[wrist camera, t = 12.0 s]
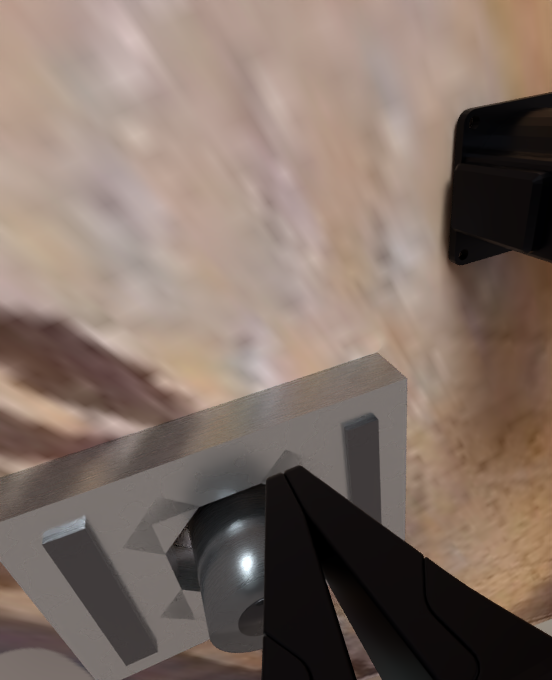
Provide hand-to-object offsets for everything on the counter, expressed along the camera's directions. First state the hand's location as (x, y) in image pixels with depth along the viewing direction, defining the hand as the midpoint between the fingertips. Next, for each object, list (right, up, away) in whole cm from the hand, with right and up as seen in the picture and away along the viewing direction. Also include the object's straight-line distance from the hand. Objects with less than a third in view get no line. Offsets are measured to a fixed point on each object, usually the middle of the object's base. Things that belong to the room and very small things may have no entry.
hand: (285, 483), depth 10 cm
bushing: (-3, -5, +13) cm, 14 cm away
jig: (-3, -5, +13) cm, 14 cm away
